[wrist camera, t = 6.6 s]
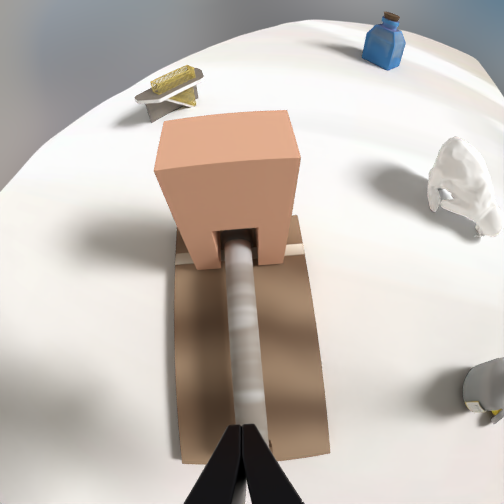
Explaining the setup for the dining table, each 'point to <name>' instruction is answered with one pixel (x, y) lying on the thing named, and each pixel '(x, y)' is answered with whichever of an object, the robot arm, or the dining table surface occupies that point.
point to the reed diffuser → (486, 388)
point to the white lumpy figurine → (465, 186)
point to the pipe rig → (248, 350)
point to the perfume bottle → (385, 43)
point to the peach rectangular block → (230, 180)
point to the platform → (171, 92)
